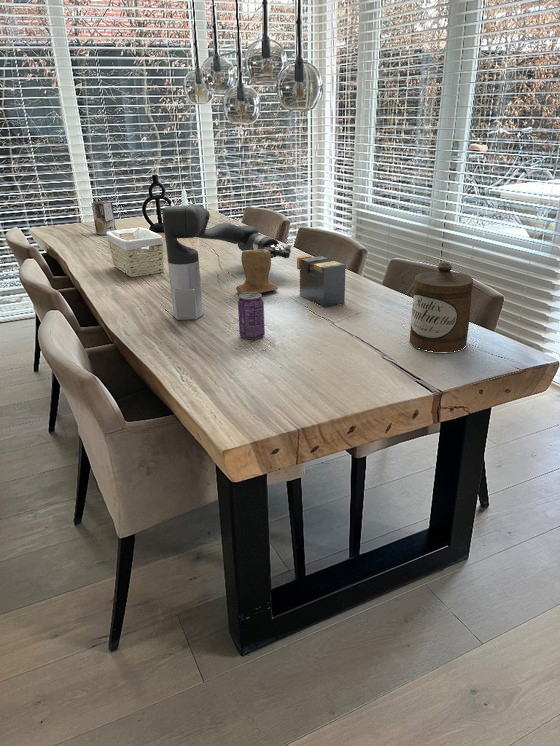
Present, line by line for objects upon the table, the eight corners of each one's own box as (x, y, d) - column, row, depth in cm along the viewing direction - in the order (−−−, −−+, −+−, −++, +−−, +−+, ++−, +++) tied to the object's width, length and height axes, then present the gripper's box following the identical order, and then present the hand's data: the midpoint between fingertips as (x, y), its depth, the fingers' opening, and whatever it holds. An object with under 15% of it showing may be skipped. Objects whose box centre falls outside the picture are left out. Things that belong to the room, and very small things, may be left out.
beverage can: (251, 330, 167) (249, 290, 162) (269, 335, 162) (268, 294, 157) (234, 337, 162) (232, 296, 157) (253, 342, 158) (251, 300, 152)
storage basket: (168, 273, 227) (164, 235, 221) (128, 279, 220) (123, 241, 213) (146, 261, 246) (142, 226, 240) (109, 267, 238) (104, 231, 232)
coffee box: (117, 233, 303) (112, 201, 296) (107, 235, 298) (103, 203, 291) (105, 231, 308) (100, 200, 301) (95, 233, 303) (90, 202, 296)
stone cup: (264, 284, 209) (263, 243, 203) (282, 292, 200) (281, 249, 194) (227, 291, 202) (225, 249, 196) (244, 300, 193) (242, 256, 187)
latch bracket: (299, 295, 196) (299, 257, 191) (319, 291, 200) (320, 254, 194) (323, 307, 184) (324, 267, 178) (344, 303, 187) (345, 264, 182)
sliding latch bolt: (297, 268, 197) (297, 257, 196) (309, 266, 199) (309, 255, 198) (323, 280, 183) (323, 268, 182) (336, 278, 185) (337, 266, 184)
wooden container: (398, 344, 155) (404, 263, 146) (428, 329, 164) (436, 253, 155) (447, 358, 145) (457, 273, 136) (476, 343, 154) (487, 262, 145)
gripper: (250, 238, 216) (270, 247, 202) (280, 234, 222) (303, 242, 208) (250, 258, 220) (271, 268, 206) (281, 253, 225) (303, 263, 211)
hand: (287, 255), depth 207 cm, fingers closed
